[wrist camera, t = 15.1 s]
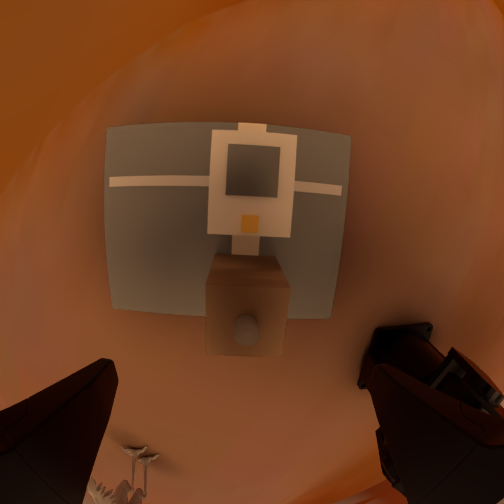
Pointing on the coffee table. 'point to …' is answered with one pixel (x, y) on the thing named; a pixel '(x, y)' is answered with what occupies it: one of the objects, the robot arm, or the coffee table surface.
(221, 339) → the wooden knobbed box
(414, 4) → the coffee table surface
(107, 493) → the figurine
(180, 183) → the board
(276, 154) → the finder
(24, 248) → the coffee table surface
